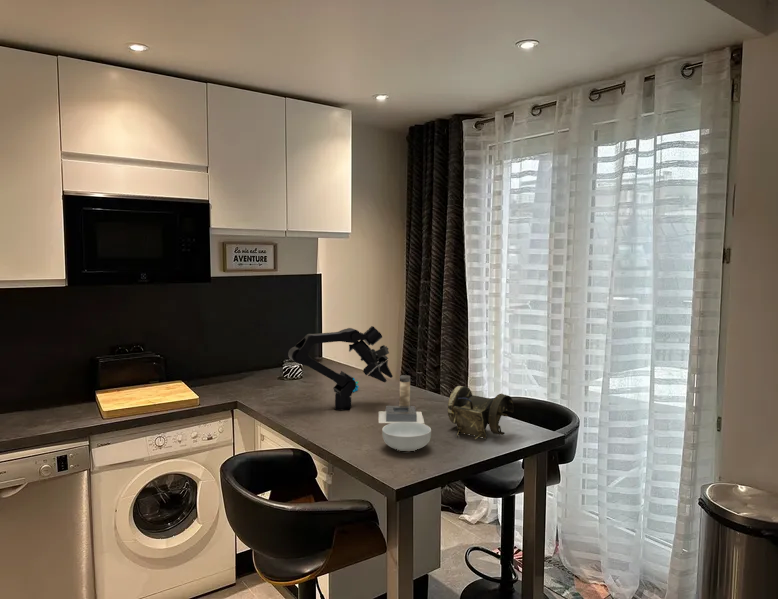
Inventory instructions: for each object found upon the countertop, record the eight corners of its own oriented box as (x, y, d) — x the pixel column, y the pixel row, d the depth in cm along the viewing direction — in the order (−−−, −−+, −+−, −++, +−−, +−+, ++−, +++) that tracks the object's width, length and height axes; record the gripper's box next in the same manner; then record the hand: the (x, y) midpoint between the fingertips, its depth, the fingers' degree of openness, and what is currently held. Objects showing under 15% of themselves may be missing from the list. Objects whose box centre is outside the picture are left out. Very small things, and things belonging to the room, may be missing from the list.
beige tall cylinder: (399, 412, 233) (400, 377, 232) (399, 409, 238) (399, 375, 236) (409, 412, 233) (410, 377, 232) (409, 409, 238) (409, 375, 236)
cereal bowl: (415, 437, 202) (415, 418, 201) (440, 452, 187) (440, 432, 187) (373, 444, 194) (373, 424, 193) (396, 460, 179) (396, 439, 179)
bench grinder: (469, 411, 224) (457, 371, 216) (520, 420, 210) (508, 377, 202) (445, 444, 211) (431, 403, 203) (497, 456, 197) (484, 412, 189)
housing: (386, 421, 218) (386, 414, 218) (385, 412, 230) (385, 405, 230) (416, 421, 219) (416, 414, 218) (414, 412, 231) (414, 405, 230)
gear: (347, 391, 261) (339, 373, 266) (340, 398, 263) (332, 381, 268) (364, 390, 269) (355, 373, 274) (357, 397, 272) (348, 380, 276)
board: (378, 424, 216) (378, 422, 216) (378, 412, 232) (378, 411, 232) (424, 424, 217) (424, 423, 217) (421, 413, 233) (421, 411, 233)
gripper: (371, 343, 228) (396, 371, 226) (384, 337, 246) (407, 363, 243) (352, 360, 231) (377, 389, 228) (367, 353, 248) (390, 379, 246)
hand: (389, 379), depth 237 cm, fingers open, 9 cm apart
